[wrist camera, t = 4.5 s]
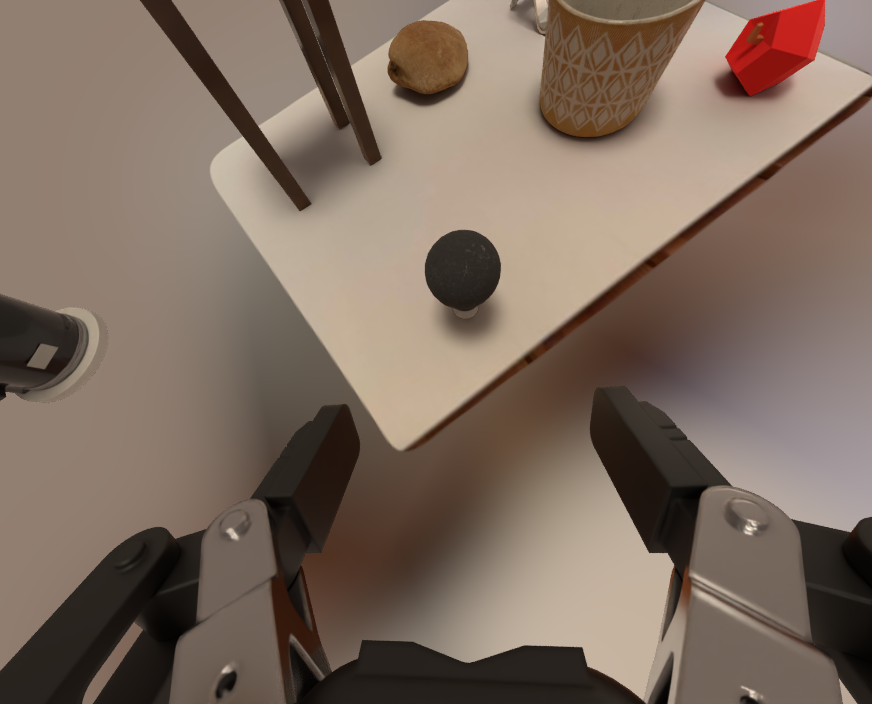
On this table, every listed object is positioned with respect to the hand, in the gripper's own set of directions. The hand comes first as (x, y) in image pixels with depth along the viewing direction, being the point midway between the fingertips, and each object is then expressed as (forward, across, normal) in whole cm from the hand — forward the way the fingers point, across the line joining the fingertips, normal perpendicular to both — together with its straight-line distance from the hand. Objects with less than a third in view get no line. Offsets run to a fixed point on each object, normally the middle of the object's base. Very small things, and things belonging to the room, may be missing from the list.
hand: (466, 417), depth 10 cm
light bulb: (+20, 0, +4) cm, 21 cm away
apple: (+37, -32, -13) cm, 51 cm away
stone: (+44, +2, -20) cm, 48 cm away
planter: (+37, -16, -13) cm, 43 cm away
